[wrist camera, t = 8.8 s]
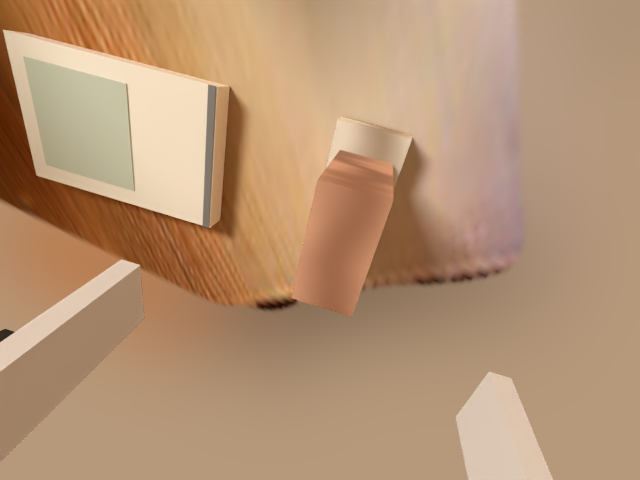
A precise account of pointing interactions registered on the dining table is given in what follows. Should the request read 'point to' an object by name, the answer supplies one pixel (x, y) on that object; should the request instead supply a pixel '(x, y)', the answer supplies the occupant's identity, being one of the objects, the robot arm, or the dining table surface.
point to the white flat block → (122, 127)
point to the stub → (349, 214)
